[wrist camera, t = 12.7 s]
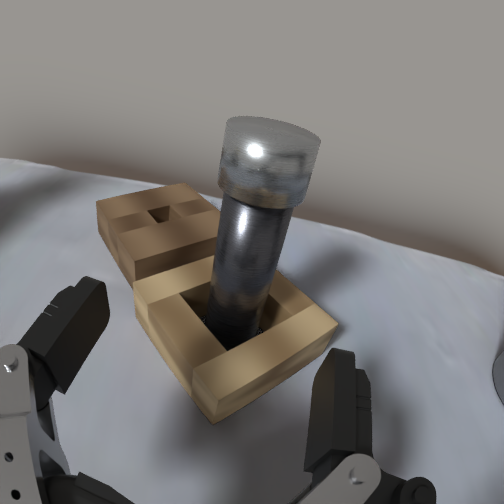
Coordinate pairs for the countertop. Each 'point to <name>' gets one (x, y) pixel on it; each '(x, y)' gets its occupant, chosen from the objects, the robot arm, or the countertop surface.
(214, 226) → the walnut block
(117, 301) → the countertop surface
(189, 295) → the oak block
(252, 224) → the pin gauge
